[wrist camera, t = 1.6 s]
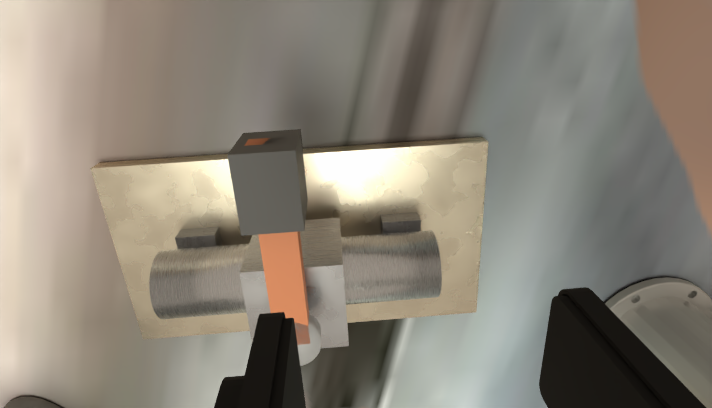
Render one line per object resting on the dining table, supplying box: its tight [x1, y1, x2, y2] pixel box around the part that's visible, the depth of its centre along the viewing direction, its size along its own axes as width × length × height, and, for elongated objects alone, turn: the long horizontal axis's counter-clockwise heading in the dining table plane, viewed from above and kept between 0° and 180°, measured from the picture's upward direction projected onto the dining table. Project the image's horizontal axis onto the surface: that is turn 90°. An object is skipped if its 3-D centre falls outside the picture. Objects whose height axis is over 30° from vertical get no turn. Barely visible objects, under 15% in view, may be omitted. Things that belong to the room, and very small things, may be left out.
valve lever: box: [227, 129, 321, 366], centre depth 24 cm, size 14×3×4 cm, turn 3°
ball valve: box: [91, 137, 488, 348], centre depth 32 cm, size 30×16×12 cm, turn 93°
